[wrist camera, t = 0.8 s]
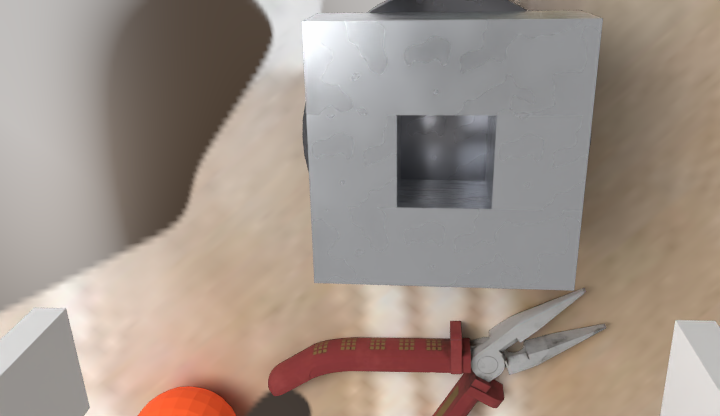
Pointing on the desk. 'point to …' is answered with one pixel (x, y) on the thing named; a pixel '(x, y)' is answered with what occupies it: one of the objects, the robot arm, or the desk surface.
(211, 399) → the clementine
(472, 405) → the pliers
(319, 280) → the chuck block
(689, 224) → the desk surface
